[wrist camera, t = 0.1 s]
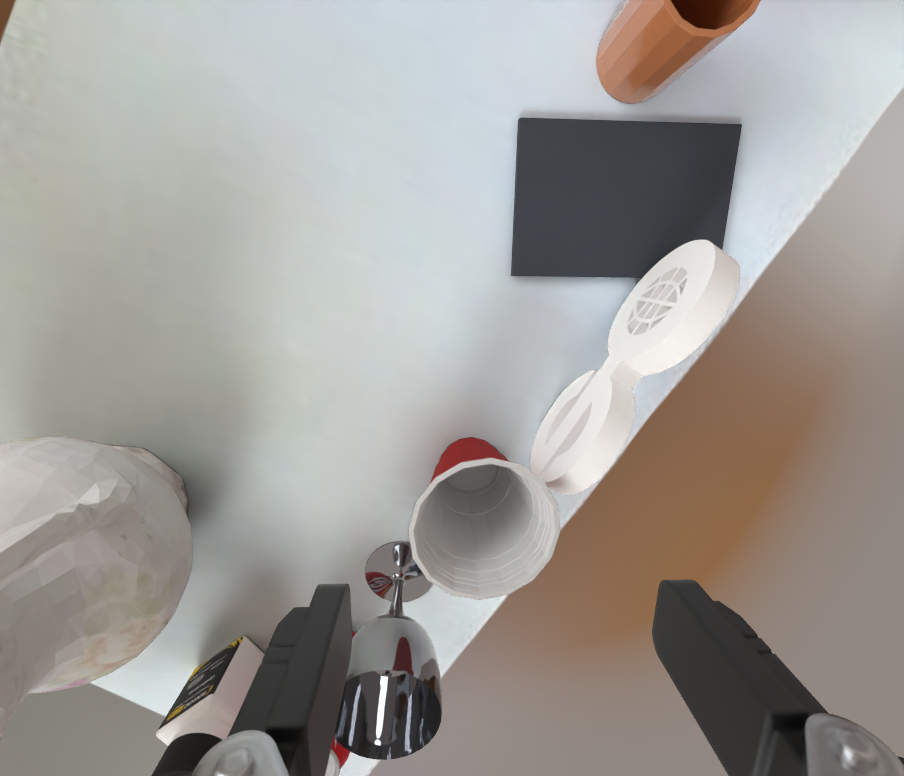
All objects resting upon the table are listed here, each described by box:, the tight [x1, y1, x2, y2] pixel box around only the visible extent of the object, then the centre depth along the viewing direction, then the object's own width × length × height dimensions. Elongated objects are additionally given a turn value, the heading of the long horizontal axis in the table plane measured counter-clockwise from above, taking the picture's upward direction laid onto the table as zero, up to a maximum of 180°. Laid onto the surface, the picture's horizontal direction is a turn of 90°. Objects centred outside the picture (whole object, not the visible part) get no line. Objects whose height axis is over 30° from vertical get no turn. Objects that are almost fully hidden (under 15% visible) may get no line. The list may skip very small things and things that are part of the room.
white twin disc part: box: [530, 240, 740, 495], centre depth 35 cm, size 22×2×10 cm, turn 149°
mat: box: [511, 118, 742, 278], centre depth 36 cm, size 12×18×1 cm, turn 89°
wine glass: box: [334, 542, 442, 760], centre depth 37 cm, size 8×8×15 cm
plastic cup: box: [408, 437, 560, 600], centre depth 36 cm, size 11×11×12 cm
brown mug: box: [596, 0, 761, 103], centre depth 29 cm, size 9×6×10 cm
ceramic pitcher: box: [0, 437, 193, 739], centre depth 29 cm, size 22×20×25 cm
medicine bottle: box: [152, 636, 265, 776], centre depth 41 cm, size 7×7×12 cm
